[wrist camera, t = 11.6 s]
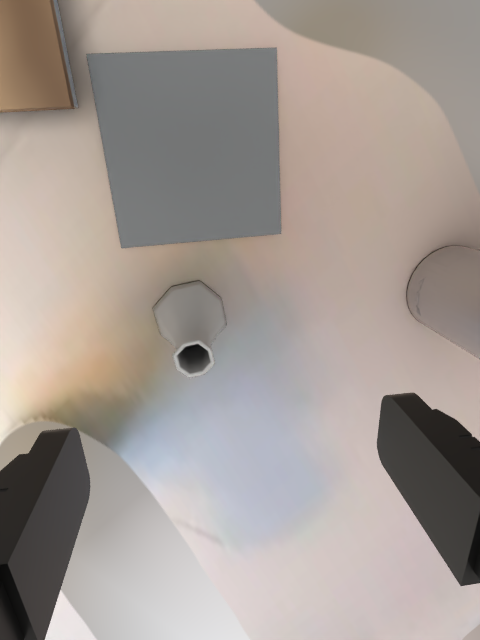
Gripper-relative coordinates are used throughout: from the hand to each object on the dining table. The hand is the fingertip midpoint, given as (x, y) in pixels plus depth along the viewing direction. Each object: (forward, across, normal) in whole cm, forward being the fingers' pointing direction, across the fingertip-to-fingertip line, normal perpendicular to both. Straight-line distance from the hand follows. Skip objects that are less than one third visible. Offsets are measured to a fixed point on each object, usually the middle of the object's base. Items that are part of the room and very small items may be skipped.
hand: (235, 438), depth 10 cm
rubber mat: (+28, 0, -8) cm, 30 cm away
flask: (+29, +2, +7) cm, 30 cm away
